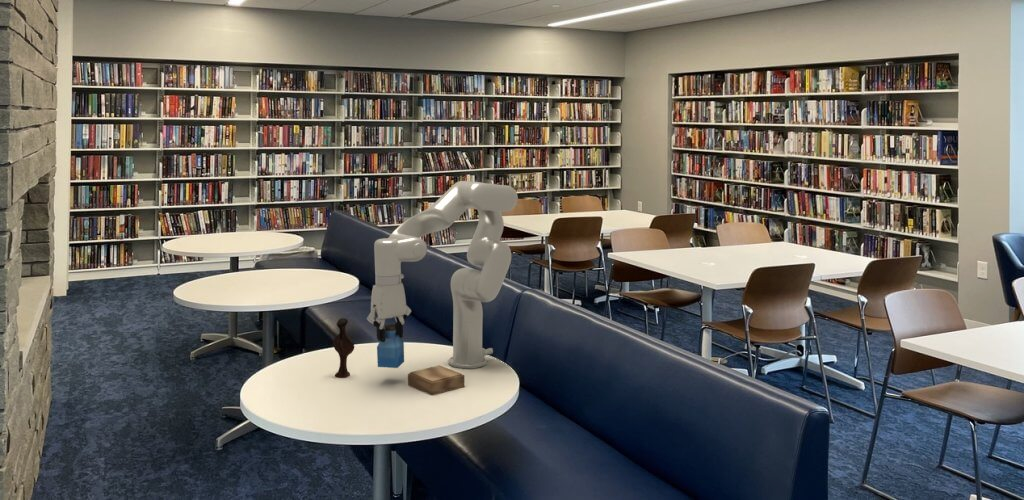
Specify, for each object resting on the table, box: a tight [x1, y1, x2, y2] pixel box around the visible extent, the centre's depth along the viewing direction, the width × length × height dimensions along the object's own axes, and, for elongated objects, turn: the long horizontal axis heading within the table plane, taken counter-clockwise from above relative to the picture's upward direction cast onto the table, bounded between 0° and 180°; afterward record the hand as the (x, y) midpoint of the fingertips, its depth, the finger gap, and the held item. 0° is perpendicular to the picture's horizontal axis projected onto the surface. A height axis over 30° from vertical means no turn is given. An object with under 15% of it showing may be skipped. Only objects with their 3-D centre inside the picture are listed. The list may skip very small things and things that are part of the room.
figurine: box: [332, 317, 355, 379], centre depth 243 cm, size 7×5×18 cm
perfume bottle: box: [376, 324, 405, 369], centre depth 238 cm, size 6×6×12 cm
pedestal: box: [407, 365, 465, 396], centre depth 236 cm, size 12×12×4 cm
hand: (390, 338), depth 237 cm, fingers closed on perfume bottle, 5 cm apart
